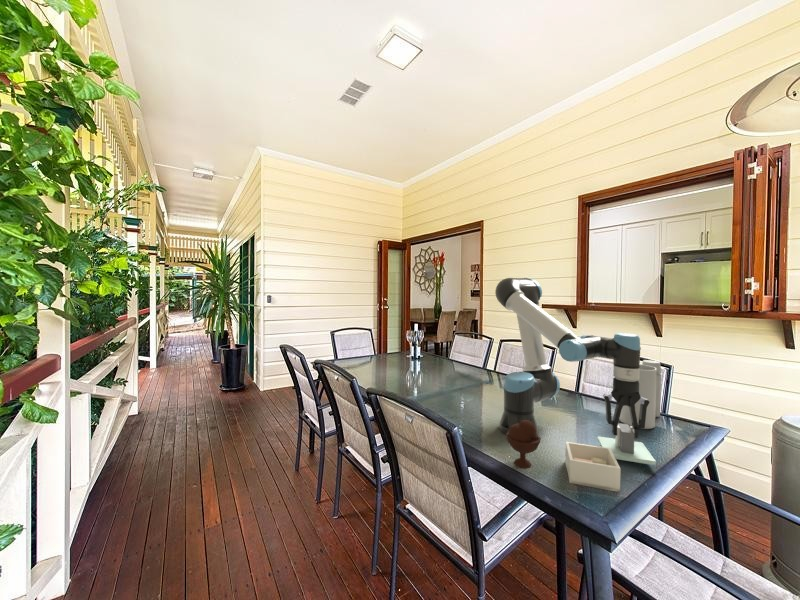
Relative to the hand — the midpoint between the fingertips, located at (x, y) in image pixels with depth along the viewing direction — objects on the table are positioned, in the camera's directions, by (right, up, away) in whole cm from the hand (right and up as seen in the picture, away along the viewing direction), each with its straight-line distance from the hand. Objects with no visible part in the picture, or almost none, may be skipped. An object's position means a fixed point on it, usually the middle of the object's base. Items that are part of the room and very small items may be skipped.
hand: (624, 445), depth 115 cm
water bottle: (+38, -3, +39) cm, 54 cm away
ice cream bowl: (-37, -5, -4) cm, 37 cm away
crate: (-18, -5, -11) cm, 22 cm away
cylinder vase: (+25, -4, +29) cm, 39 cm away
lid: (0, -2, 0) cm, 2 cm away
